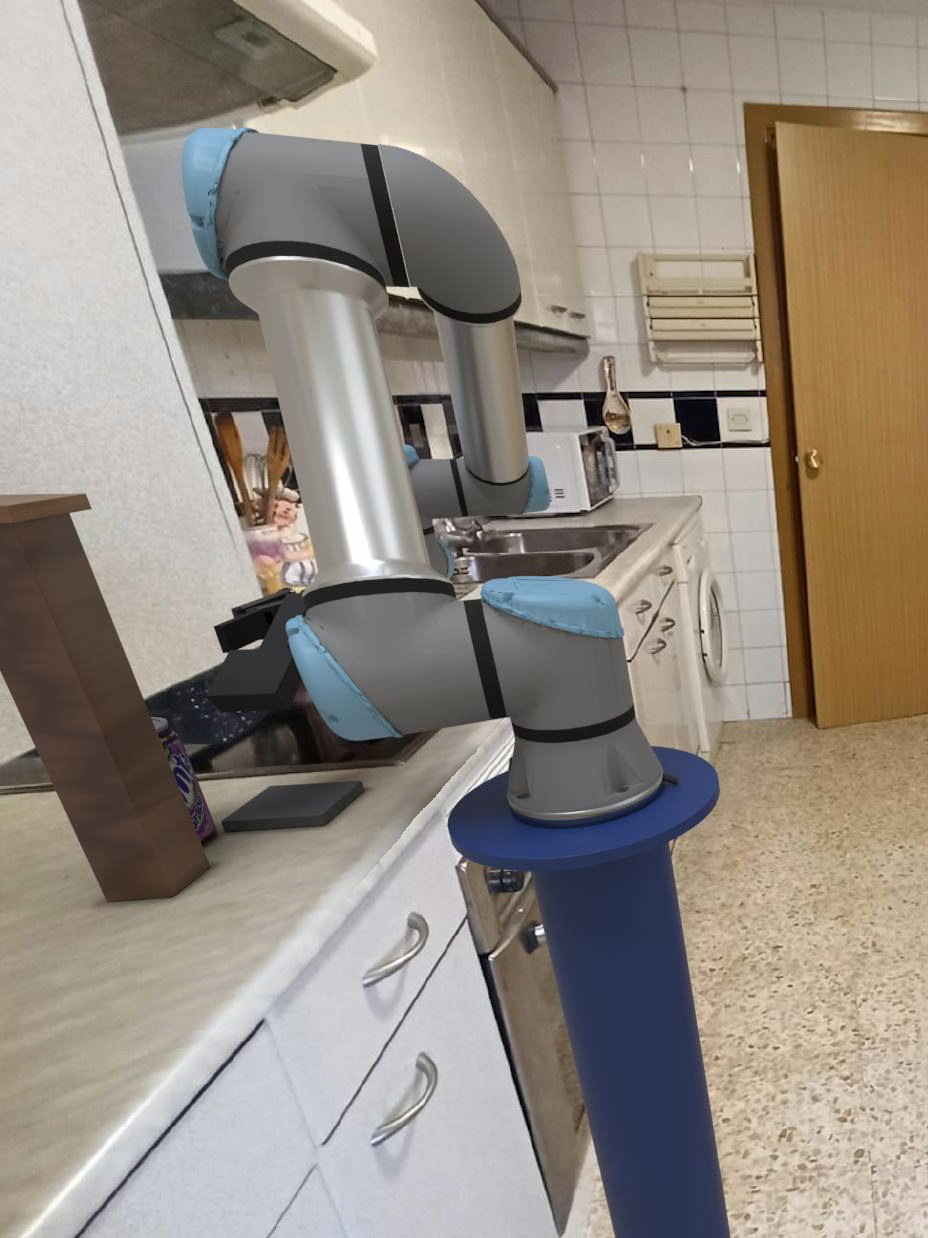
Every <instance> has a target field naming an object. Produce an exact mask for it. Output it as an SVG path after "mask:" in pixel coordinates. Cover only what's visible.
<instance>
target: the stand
mask: <svg viewBox="0 0 928 1238" xmlns="http://www.w3.org/2000/svg"><path fill="white" fill-rule="evenodd" d="M89 510H92V506H91V503H90V500H89V498H88V495H87V493H31V494H30V493H26V494H25V493H24V494H23V493H22V494H0V674H1V676H2V678H3V681H4V682H5V684H6V687H7V689H8V691H9V693H10V695H11V697H12V699H13V702H14V704H15V706H16V708H17V711H18V712H19V716H20V718H21V719H22V721H23V724H24V726H25V728H26V731H27V733H28V734H29V736H30V739H31V741H32V744H33V745H34V747H35V749H36V752H37V754H38V756H39V758H40V760H41V762H42V765H43V767H44V769H45V771H46V774H47V776H48V777H49V780H50V782H51V785H52V786H53V788H54V791H55V793H56V795H57V797H58V799H59V801H60V804H61V805H62V808H63V810H64V812H65V814H66V817H67V819H68V821H69V823H70V825H71V827H72V829H73V832H74V834H75V837H76V838H77V840H78V842H79V845H80V847H81V849H82V851H83V853H84V856H85V857H86V859H87V862H88V864H89V866H90V868H91V870H92V872H93V875H94V878H95V879H96V881H97V884H98V886H99V888H100V890H101V892H102V894H103V896H104V899H105V901H106V902H107V903H109V902H110V903H111V902H112V903H113V902H125V901H138V900H152V899H153V900H154V899H165V898H166V899H167V898H173V897H174V896H176V895H177V894H178V893H179V892H181V891H182V890H184V888H185V887H187V886H189V884H191V883H192V882H193V881H195V880H196V879H197V878H199V876H201V875H203V874H204V873H205V872H206V871H207V870H209V869H210V868H211V866H212V865H211V864H210V861H209V859H208V857H207V853H206V851H205V849H204V847H203V844H202V840H201V841H200V839H199V836H198V834H197V831H196V829H195V826H194V824H193V821H192V819H191V816H190V814H189V811H188V809H187V806H186V804H185V801H184V799H183V796H182V794H181V791H180V789H179V786H178V784H177V781H176V779H175V776H174V774H173V771H172V769H171V766H170V764H169V761H168V759H167V756H166V754H165V751H164V749H163V746H162V744H161V741H160V739H159V736H158V734H157V731H156V729H155V726H154V724H153V721H152V719H151V717H152V716H151V713H150V711H149V708H148V706H147V704H146V701H145V698H144V696H143V694H142V691H141V689H140V687H139V684H138V681H137V680H136V676H135V674H134V672H133V669H132V666H131V664H130V661H129V658H128V657H127V653H126V651H125V649H124V646H123V644H122V641H121V638H120V636H119V633H118V632H117V628H116V626H115V624H114V621H113V618H112V616H111V614H110V611H109V607H108V605H107V604H106V601H105V599H104V596H103V594H102V591H101V589H100V587H99V586H100V585H99V584H98V581H97V578H96V576H95V574H94V571H93V568H92V567H91V564H90V561H89V558H88V555H87V553H86V551H85V549H84V546H83V543H82V541H81V538H80V536H79V534H78V530H77V529H76V526H75V524H74V521H73V519H72V516H71V514H73V513H77V512H83V511H84V512H85V511H89Z"/></svg>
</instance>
